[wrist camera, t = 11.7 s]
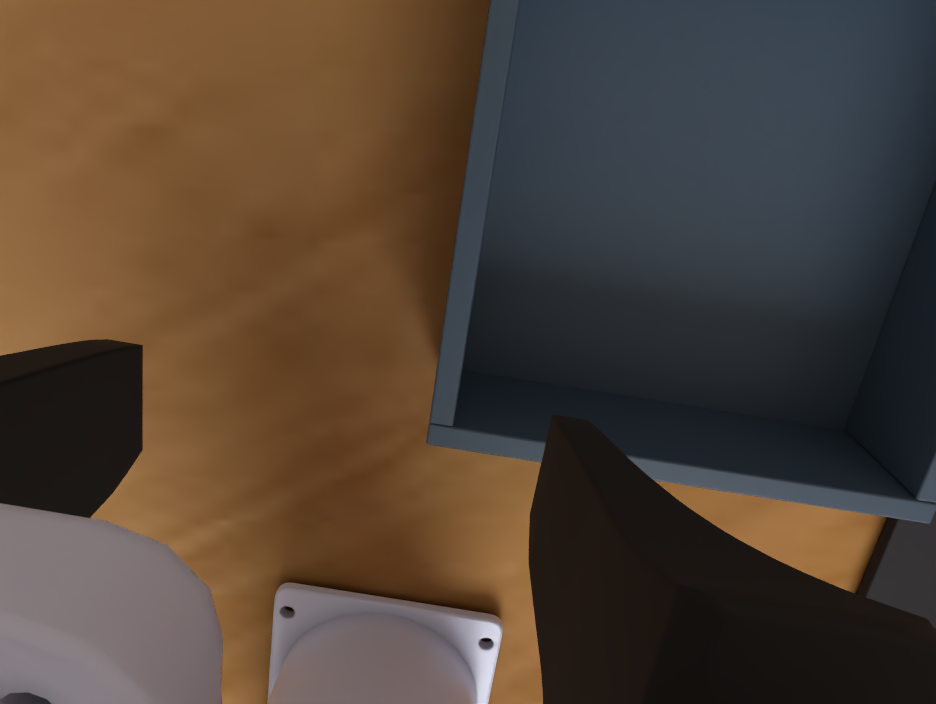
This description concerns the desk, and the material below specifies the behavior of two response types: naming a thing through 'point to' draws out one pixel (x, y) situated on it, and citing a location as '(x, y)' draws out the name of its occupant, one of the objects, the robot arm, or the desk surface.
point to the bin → (704, 245)
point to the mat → (904, 568)
